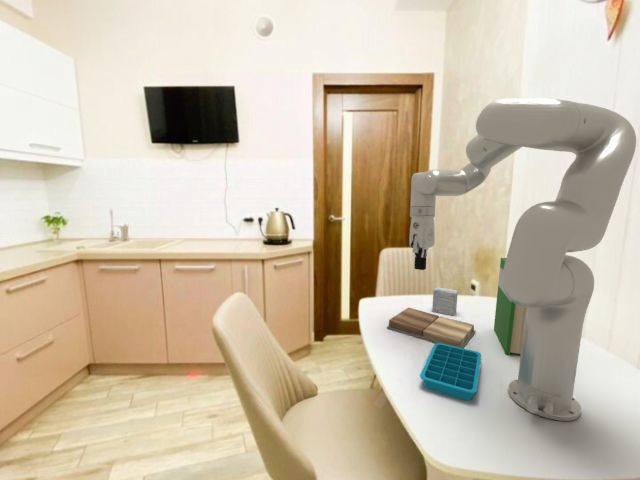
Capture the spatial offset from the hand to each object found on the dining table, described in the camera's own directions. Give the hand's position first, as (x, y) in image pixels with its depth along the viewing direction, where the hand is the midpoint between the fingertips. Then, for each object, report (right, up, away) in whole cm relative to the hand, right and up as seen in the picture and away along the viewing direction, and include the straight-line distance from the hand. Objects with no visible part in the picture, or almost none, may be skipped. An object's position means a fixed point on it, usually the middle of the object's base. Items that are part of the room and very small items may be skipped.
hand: (420, 269), depth 102 cm
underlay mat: (+3, -20, 0) cm, 20 cm away
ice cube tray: (0, -24, -25) cm, 35 cm away
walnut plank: (-1, -18, +3) cm, 19 cm away
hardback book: (+25, -22, -8) cm, 34 cm away
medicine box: (+14, -18, +16) cm, 28 cm away
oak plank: (+8, -20, -4) cm, 22 cm away
